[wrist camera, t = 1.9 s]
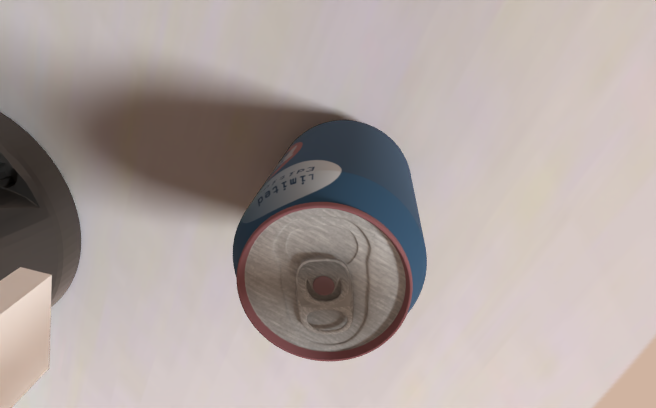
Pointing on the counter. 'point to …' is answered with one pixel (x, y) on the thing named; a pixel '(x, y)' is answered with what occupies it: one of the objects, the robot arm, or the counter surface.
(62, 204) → the robot arm
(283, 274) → the soda can
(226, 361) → the counter surface
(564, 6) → the counter surface
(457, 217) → the counter surface
